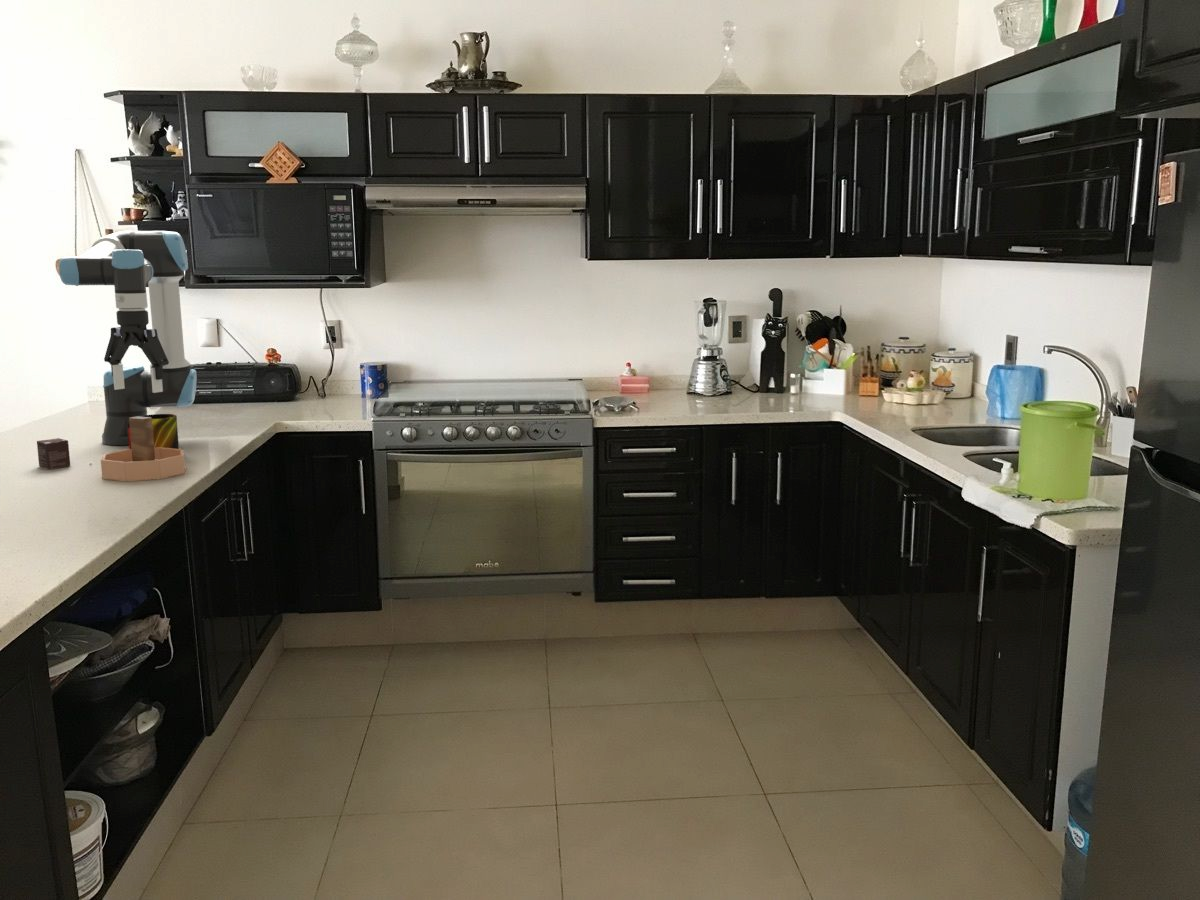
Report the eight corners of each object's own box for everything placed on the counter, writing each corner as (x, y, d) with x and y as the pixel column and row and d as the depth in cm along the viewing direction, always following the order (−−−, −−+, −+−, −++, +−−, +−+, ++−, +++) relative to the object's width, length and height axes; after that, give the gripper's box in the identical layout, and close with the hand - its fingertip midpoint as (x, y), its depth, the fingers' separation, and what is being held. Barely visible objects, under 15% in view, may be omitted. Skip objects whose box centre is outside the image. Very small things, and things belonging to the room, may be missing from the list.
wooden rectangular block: (142, 467, 275) (138, 416, 272) (155, 469, 273) (151, 417, 270) (133, 469, 272) (128, 417, 270) (146, 471, 270) (142, 419, 268)
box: (61, 463, 285) (59, 437, 283) (71, 466, 281) (68, 440, 280) (38, 466, 280) (36, 440, 279) (48, 469, 276) (45, 443, 275)
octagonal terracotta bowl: (146, 462, 286) (145, 445, 285) (202, 469, 278) (201, 451, 277) (84, 476, 268) (83, 458, 267) (142, 483, 260) (141, 464, 259)
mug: (130, 455, 297) (127, 415, 294) (181, 453, 300) (178, 413, 298) (124, 462, 287) (121, 420, 285) (177, 459, 291) (174, 418, 289)
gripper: (85, 308, 266) (92, 389, 270) (156, 311, 257) (162, 395, 261) (108, 307, 273) (115, 386, 277) (179, 310, 263) (185, 391, 267)
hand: (138, 390), depth 269 cm, fingers open, 13 cm apart
